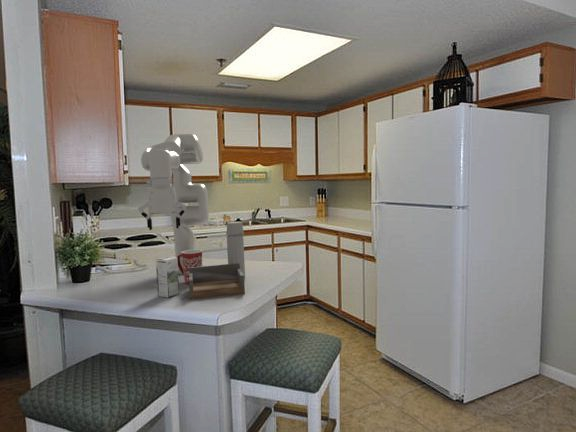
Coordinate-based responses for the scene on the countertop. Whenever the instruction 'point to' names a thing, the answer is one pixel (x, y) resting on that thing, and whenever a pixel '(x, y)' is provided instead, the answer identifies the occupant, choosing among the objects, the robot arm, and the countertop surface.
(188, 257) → the mug
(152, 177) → the robot arm
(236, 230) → the water bottle
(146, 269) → the countertop surface
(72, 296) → the countertop surface
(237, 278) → the shelf
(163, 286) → the syrup box
